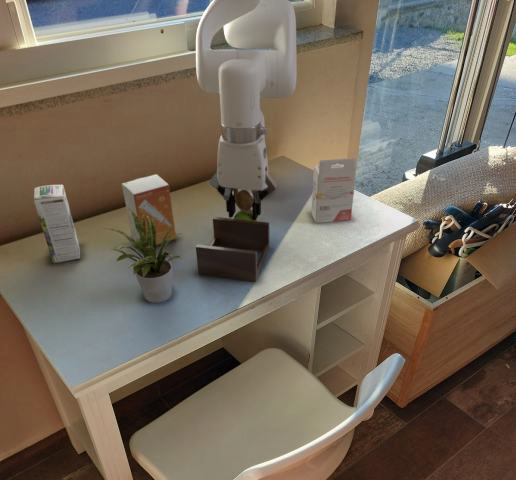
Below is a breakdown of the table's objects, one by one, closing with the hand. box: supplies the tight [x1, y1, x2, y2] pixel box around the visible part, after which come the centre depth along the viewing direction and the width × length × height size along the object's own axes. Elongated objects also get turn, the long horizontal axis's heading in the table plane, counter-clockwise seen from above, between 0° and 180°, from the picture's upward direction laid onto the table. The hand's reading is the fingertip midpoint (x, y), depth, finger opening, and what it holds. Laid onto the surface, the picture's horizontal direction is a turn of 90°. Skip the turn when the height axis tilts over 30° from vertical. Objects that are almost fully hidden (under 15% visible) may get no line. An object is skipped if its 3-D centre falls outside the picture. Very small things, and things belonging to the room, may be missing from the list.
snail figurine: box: [233, 188, 258, 221], centre depth 112 cm, size 5×6×12 cm
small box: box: [121, 173, 177, 246], centre depth 110 cm, size 8×6×13 cm
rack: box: [195, 216, 270, 283], centre depth 105 cm, size 12×12×6 cm
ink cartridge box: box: [311, 157, 357, 224], centre depth 116 cm, size 9×5×15 cm, turn 97°
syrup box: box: [33, 184, 81, 264], centre depth 105 cm, size 6×6×14 cm
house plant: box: [102, 209, 184, 304], centre depth 94 cm, size 14×14×16 cm
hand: (243, 215), depth 113 cm, fingers closed on snail figurine, 4 cm apart
